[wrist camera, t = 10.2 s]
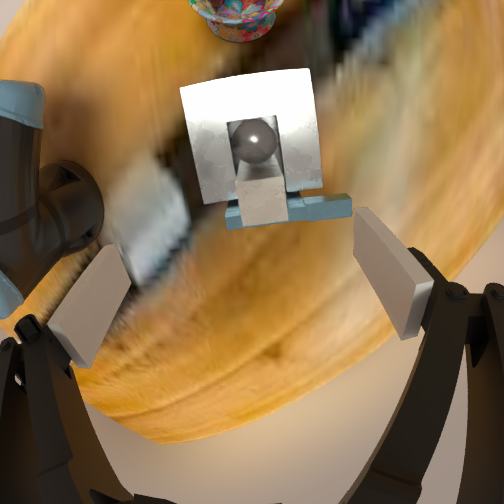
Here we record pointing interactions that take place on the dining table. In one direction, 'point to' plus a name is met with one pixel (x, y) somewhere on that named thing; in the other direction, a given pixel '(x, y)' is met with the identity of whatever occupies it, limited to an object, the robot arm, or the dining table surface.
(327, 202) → the notched panel with ball
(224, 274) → the dining table surface
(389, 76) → the dining table surface
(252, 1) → the mug
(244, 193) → the grey rectangular block
